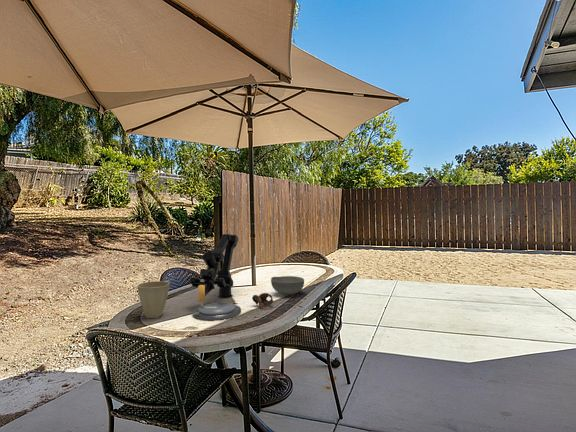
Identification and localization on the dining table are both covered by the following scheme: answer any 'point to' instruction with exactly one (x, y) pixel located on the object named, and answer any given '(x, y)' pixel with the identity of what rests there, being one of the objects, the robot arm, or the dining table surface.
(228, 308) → the dial
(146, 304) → the plant pot
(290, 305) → the dining table surface
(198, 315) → the dial plate
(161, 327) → the dining table surface
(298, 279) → the bowl
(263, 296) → the brown animal figurine
